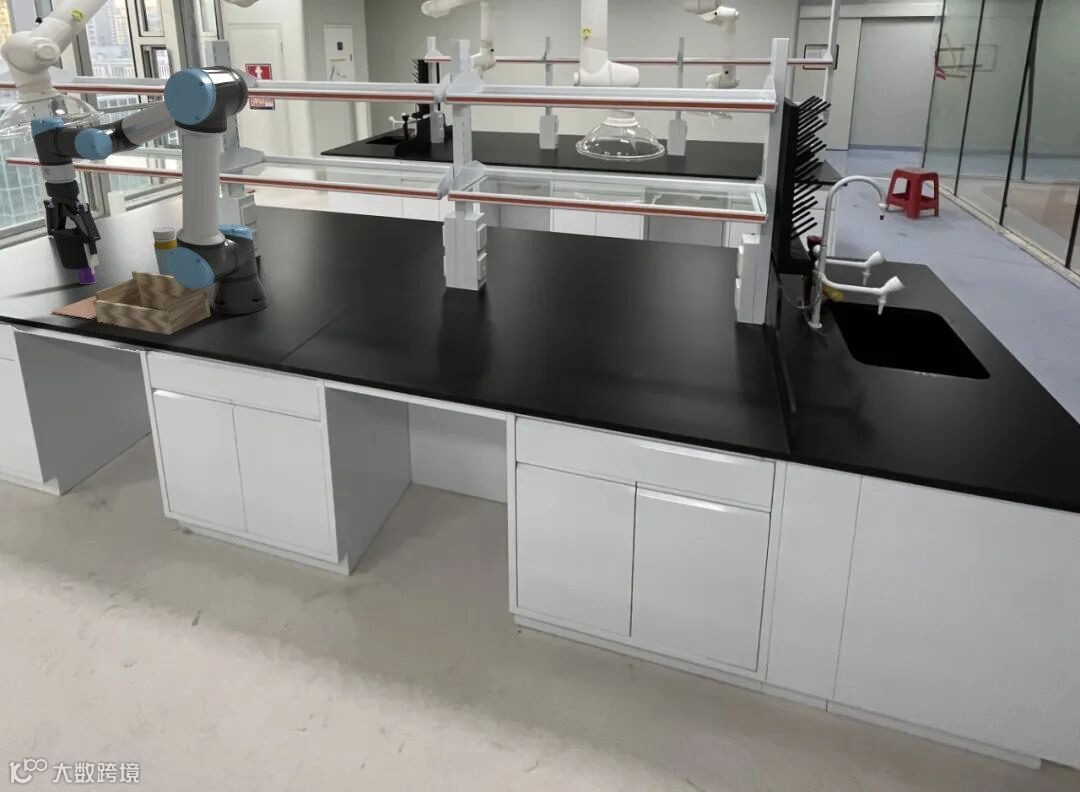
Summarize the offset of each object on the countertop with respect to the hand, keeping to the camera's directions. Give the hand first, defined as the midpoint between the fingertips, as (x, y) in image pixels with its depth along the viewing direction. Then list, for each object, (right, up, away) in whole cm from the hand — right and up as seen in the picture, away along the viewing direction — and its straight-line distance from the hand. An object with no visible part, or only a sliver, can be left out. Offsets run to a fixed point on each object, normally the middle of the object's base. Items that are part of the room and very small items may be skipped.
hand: (80, 263), depth 220 cm
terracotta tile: (0, -12, +6) cm, 13 cm away
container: (-13, -2, +27) cm, 30 cm away
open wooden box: (+21, -15, -1) cm, 26 cm away
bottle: (+10, +1, +33) cm, 34 cm away
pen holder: (0, -1, 0) cm, 1 cm away
